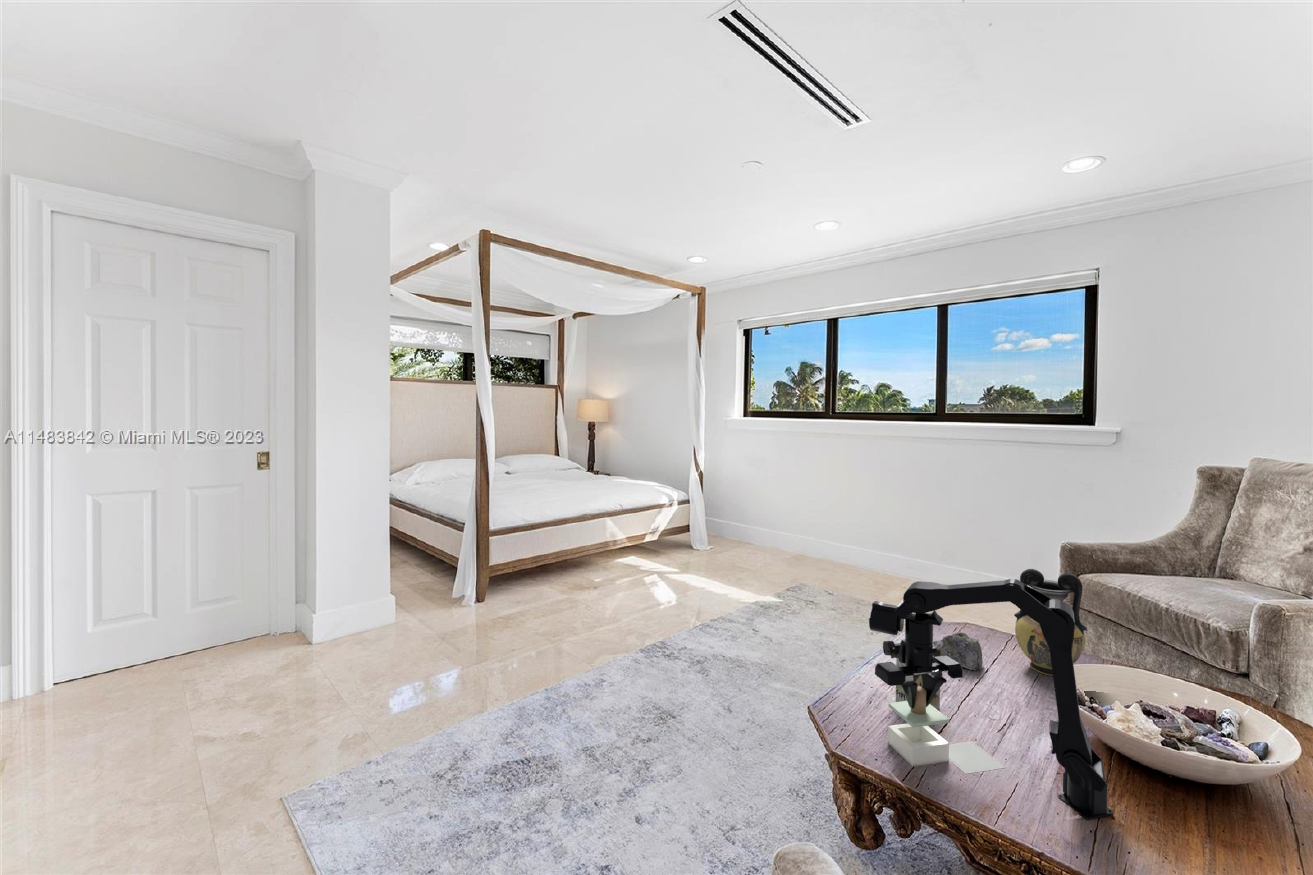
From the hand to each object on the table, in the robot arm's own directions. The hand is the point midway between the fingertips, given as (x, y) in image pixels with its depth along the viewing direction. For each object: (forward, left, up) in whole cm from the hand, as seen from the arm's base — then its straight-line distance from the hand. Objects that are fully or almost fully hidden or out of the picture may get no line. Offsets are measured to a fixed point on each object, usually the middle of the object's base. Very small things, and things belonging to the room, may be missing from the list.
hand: (918, 706), depth 128 cm
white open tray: (0, 0, -11) cm, 11 cm away
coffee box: (+18, -13, -11) cm, 25 cm away
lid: (0, 0, -2) cm, 2 cm away
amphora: (+28, -64, -11) cm, 71 cm away
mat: (-4, -10, -11) cm, 15 cm away
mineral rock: (+38, -41, -11) cm, 57 cm away
